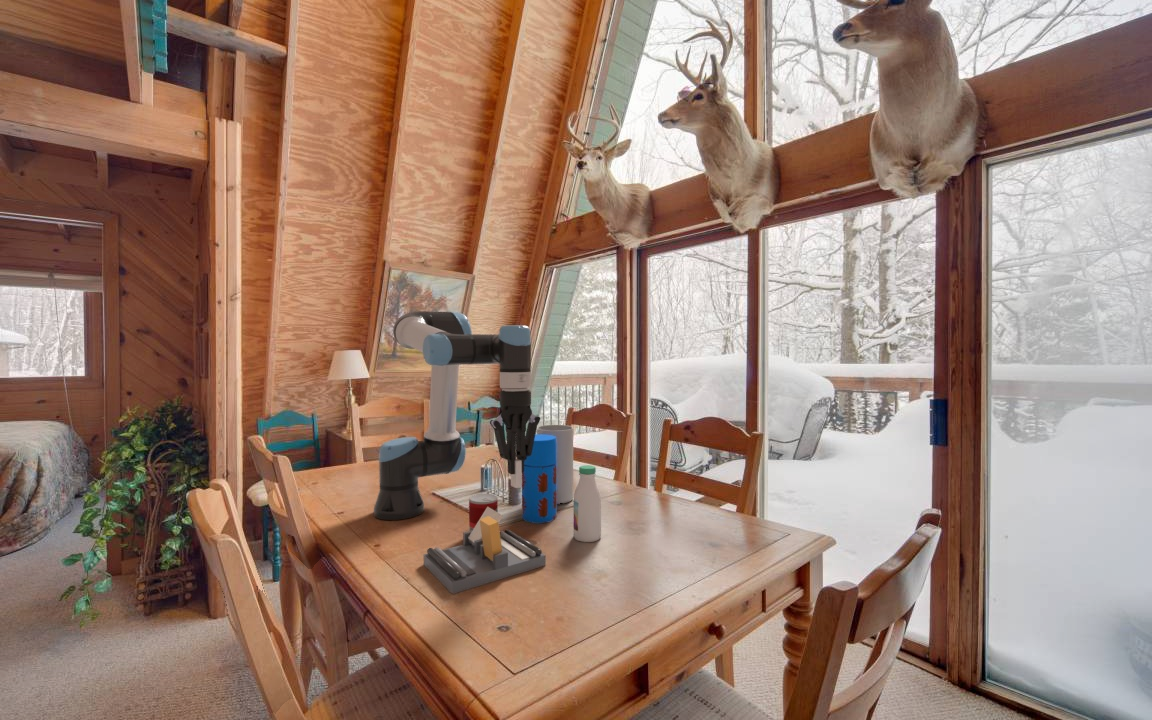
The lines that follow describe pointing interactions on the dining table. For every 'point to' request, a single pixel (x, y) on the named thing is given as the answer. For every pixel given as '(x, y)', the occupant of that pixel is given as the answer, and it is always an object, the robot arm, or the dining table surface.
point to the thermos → (540, 481)
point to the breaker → (477, 529)
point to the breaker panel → (482, 562)
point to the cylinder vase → (562, 459)
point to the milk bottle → (587, 506)
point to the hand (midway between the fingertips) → (516, 486)
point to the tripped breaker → (490, 537)
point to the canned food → (480, 507)
